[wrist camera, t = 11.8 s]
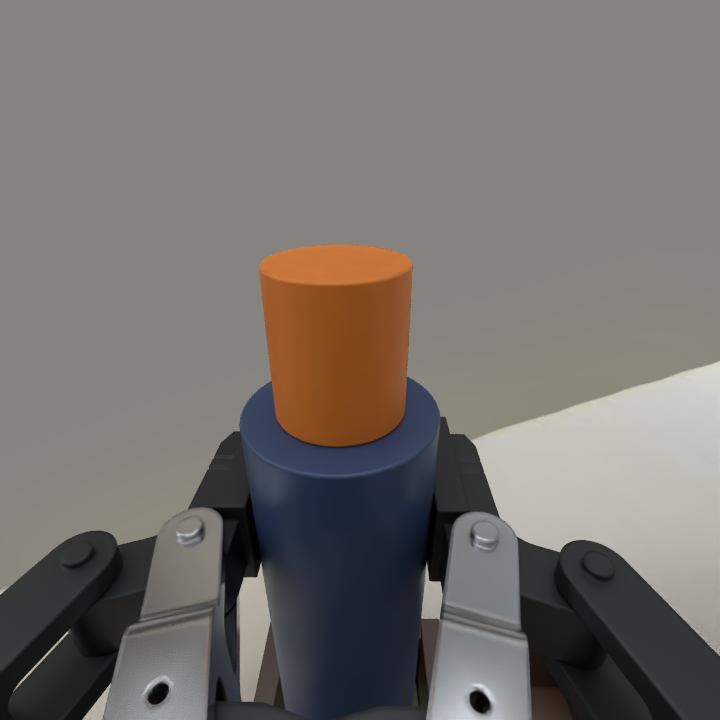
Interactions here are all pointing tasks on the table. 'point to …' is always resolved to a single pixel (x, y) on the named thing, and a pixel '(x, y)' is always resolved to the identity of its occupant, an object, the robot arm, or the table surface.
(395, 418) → the bottle
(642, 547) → the table surface
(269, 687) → the organizer
